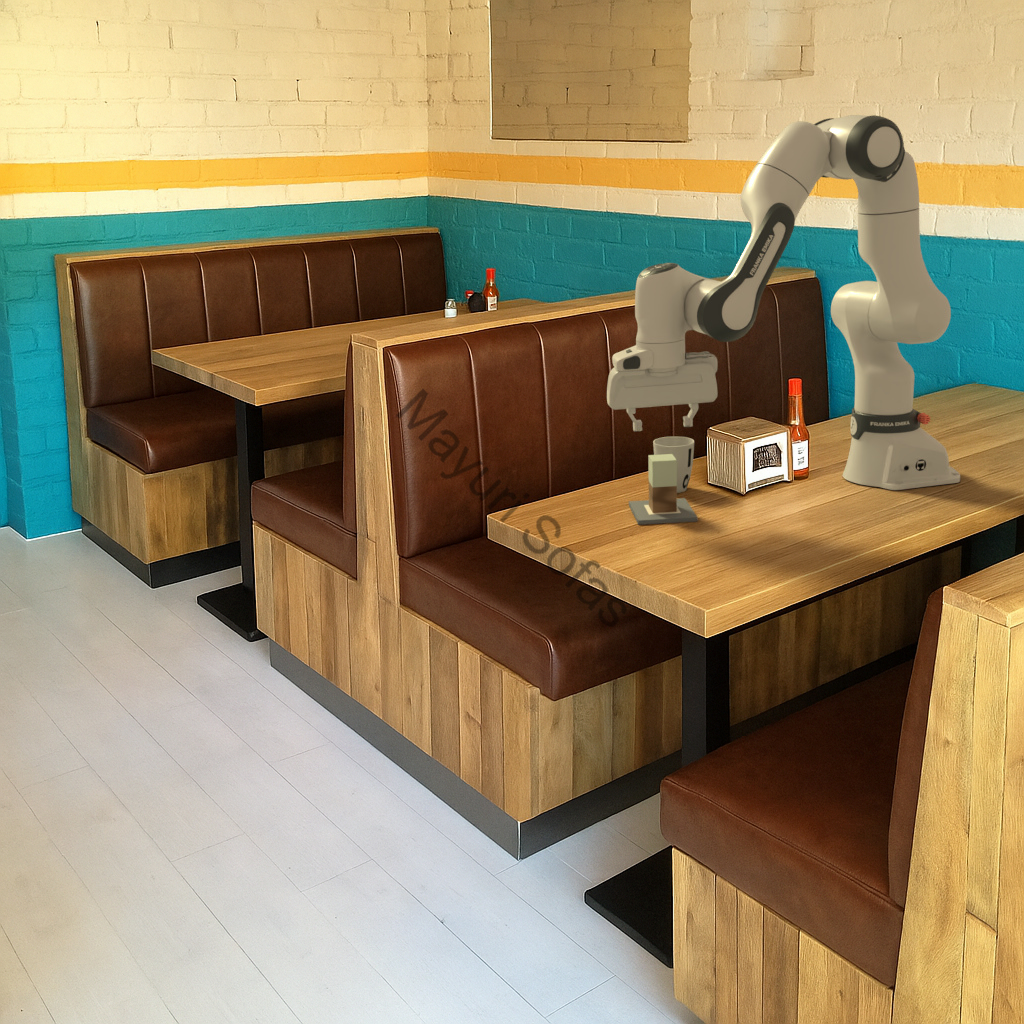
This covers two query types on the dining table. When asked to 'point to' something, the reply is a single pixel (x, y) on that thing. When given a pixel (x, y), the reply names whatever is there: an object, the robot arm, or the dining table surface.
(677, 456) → the cup
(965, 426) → the dining table surface
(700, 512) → the dining table surface
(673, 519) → the grey flat square plate
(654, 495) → the walnut block
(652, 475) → the sage block
